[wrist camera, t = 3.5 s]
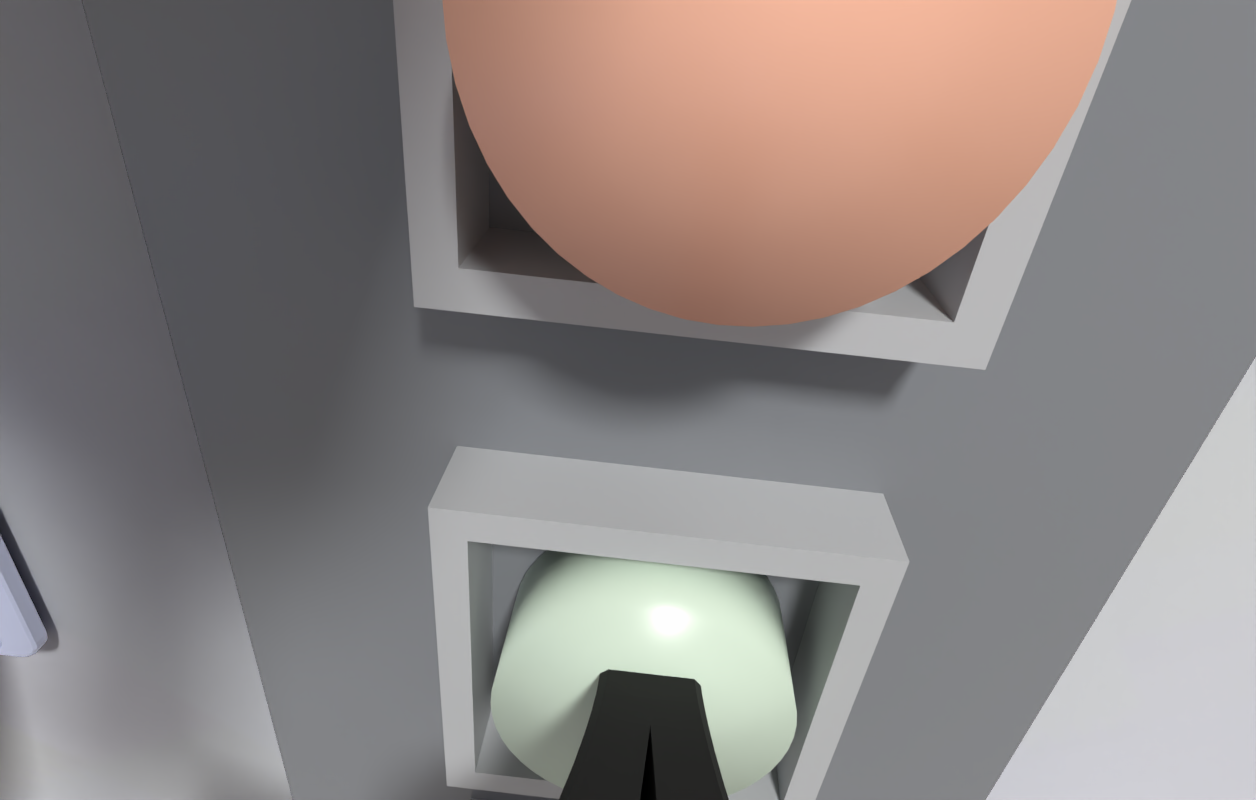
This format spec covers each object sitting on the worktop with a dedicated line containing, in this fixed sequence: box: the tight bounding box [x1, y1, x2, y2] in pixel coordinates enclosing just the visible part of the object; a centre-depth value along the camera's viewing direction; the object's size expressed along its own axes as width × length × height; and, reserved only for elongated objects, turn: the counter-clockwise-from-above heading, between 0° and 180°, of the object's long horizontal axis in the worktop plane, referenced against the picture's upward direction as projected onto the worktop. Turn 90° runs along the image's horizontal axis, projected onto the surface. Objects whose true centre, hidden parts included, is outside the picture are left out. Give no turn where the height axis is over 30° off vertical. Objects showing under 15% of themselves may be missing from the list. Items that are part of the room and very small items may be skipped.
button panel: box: [82, 0, 1256, 800], centre depth 12 cm, size 14×26×3 cm, turn 175°
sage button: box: [491, 550, 797, 795], centre depth 11 cm, size 4×4×2 cm
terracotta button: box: [442, 0, 1117, 327], centre depth 6 cm, size 4×4×2 cm
